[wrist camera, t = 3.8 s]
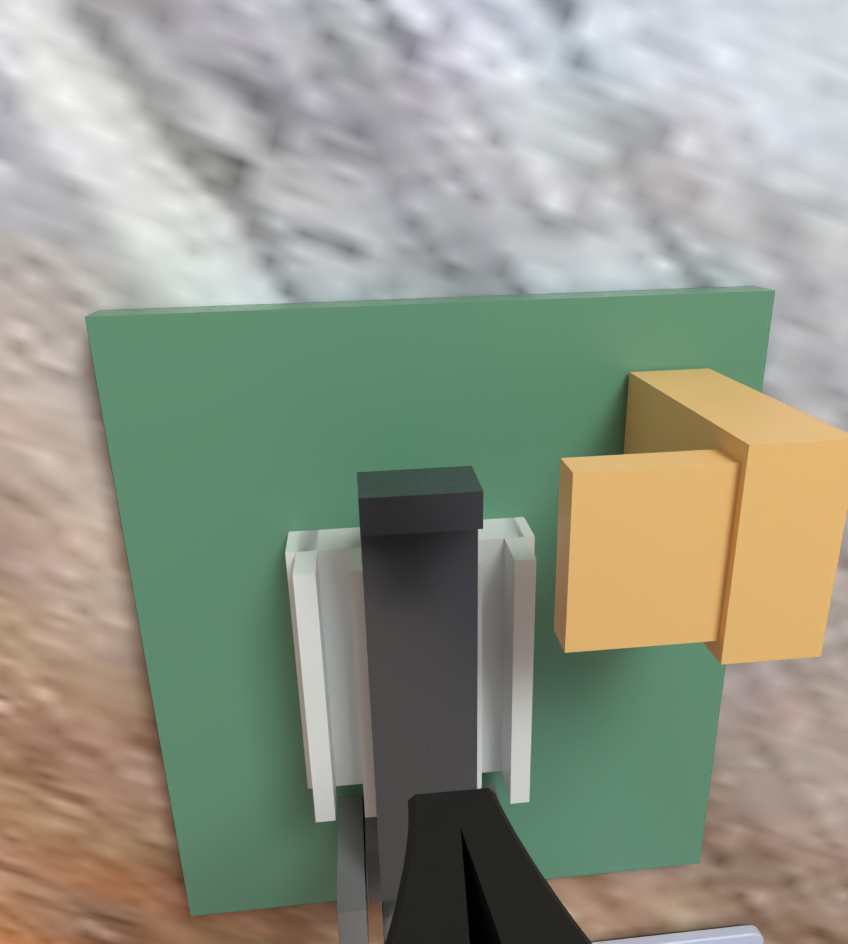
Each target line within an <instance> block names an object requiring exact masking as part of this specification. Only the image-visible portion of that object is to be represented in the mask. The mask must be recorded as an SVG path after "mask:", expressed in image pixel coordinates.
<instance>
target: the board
mask: <svg viewBox="0 0 848 944" xmlns="http://www.w3.org/2000/svg"><path fill="white" fill-rule="evenodd" d="M774 295H775V290H770V289H766V288H761V287H756V286H740V287H713V288H686V289H659V290H633V291H606V292H579V293H552V294H526V295H499V296H472V297H445V298H419V299H392V300H365V301H338V302H312V303H285V304H258V305H231V306H205V307H178V308H151V309H124V310H99V311H96V312H94V313H92V314H90V315H88V316H86V317H85V319H86V325H87V331H88V336H89V342H90V348H91V353H92V359H93V365H94V370H95V376H96V382H97V387H98V393H99V399H100V404H101V410H102V416H103V421H104V427H105V433H106V438H107V444H108V450H109V455H110V461H111V467H112V472H113V478H114V484H115V490H116V495H117V501H118V507H119V512H120V518H121V524H122V529H123V535H124V541H125V546H126V552H127V558H128V563H129V569H130V575H131V580H132V586H133V592H134V597H135V603H136V609H137V614H138V620H139V626H140V631H141V637H142V643H143V648H144V654H145V660H146V666H147V671H148V677H149V683H150V688H151V694H152V700H153V705H154V711H155V717H156V722H157V728H158V734H159V739H160V745H161V751H162V756H163V762H164V768H165V773H166V779H167V785H168V790H169V796H170V802H171V807H172V813H173V819H174V825H175V830H176V836H177V842H178V847H179V853H180V859H181V864H182V870H183V876H184V881H185V887H186V893H187V898H188V904H189V910H190V915H191V916H199V915H208V914H218V913H227V912H237V911H247V910H256V909H266V908H275V907H285V906H295V905H304V904H314V903H323V902H333V901H337V919H338V931H339V943H340V944H369V930H368V900H367V898H369V903H374V902H382V896H381V879H380V862H379V845H378V827H377V810H376V793H375V776H374V759H373V742H372V725H371V708H370V690H369V673H368V656H367V639H366V622H365V605H364V588H363V571H362V553H361V537H360V521H359V504H358V485H357V472H369V471H387V470H405V469H422V468H440V467H458V466H472V467H473V469H474V471H475V474H476V476H477V478H478V480H479V482H480V485H481V487H482V489H483V529H478V678H477V789H481V788H489V789H491V790H492V791H493V792H494V793H495V794H496V796H497V798H498V801H499V803H500V805H501V807H502V808H503V810H504V812H505V814H506V816H507V818H508V820H509V822H510V823H511V825H512V827H513V829H514V830H515V832H516V834H517V836H518V837H519V839H520V841H521V842H522V844H523V845H524V847H525V849H526V850H527V852H528V854H529V855H530V857H531V858H532V860H533V862H534V863H535V865H536V866H537V868H538V869H539V871H540V872H541V874H542V875H543V877H544V878H545V879H553V878H563V877H573V876H582V875H592V874H601V873H611V872H620V871H630V870H640V869H649V868H659V867H668V866H678V865H688V864H697V863H700V856H701V848H702V841H703V833H704V826H705V818H706V810H707V803H708V795H709V788H710V780H711V773H712V765H713V757H714V750H715V742H716V735H717V727H718V719H719V712H720V704H721V697H722V689H723V681H724V674H725V666H726V664H722V665H721V664H720V663H719V662H718V660H717V659H716V658H715V657H714V655H713V654H712V653H711V652H710V650H709V649H708V648H707V647H706V645H705V644H704V643H703V642H696V643H684V644H671V645H658V646H645V647H633V648H620V649H607V650H594V651H582V652H569V653H565V652H564V650H563V648H562V646H561V644H560V642H559V640H558V638H557V636H556V634H555V632H554V612H555V587H556V562H557V537H558V512H559V486H560V461H561V458H570V457H588V456H605V455H623V454H624V441H625V427H626V413H627V398H628V384H629V372H640V371H662V370H683V369H705V368H709V369H711V370H713V371H716V372H718V373H720V374H722V375H724V376H726V377H729V378H731V379H733V380H735V381H737V382H739V383H741V384H744V385H746V386H748V387H750V388H752V389H754V390H756V391H759V392H761V393H762V386H763V378H764V370H765V363H766V355H767V348H768V340H769V332H770V325H771V317H772V310H773V302H774Z"/></svg>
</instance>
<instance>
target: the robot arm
mask: <svg viewBox="0 0 848 944" xmlns="http://www.w3.org/2000/svg"><path fill="white" fill-rule="evenodd" d="M385 944H763V937H762V935H761V933H760V932H759V930H758V929H757V927H755V926H752V925H743V926H734V927H725V928H716V929H707V930H698V931H689V932H680V933H671V934H662V935H654V936H645V937H636V938H627V939H618V940H609V941H600V942H591V941H590V940H589V939H588V937H587V936H586V935H585V934H584V932H583V931H582V930H581V928H580V927H579V926H578V924H577V923H576V922H575V921H574V919H573V918H572V916H571V915H570V914H569V912H568V911H567V910H566V908H565V907H564V906H563V904H562V903H561V901H560V900H559V898H558V897H557V896H556V894H555V893H554V891H553V890H552V888H551V887H550V885H549V884H548V882H547V881H546V880H545V878H544V877H543V875H542V874H541V872H540V871H539V869H538V868H537V866H536V865H535V863H534V862H533V860H532V858H531V857H530V855H529V854H528V852H527V850H526V849H525V847H524V845H523V844H522V842H521V841H520V839H519V837H518V836H517V834H516V832H515V830H514V829H513V827H512V825H511V823H510V822H509V820H508V818H507V816H506V814H505V812H504V810H503V808H502V807H501V805H500V803H499V801H498V798H497V796H496V794H495V793H494V792H493V791H492V790H491V789H489V788H481V789H470V790H459V791H448V792H437V793H426V794H416V795H414V796H412V797H411V798H410V799H409V800H408V836H407V845H406V852H405V859H404V865H403V871H402V876H401V880H400V885H399V890H398V895H397V900H396V904H395V909H394V913H393V917H392V921H391V924H390V928H389V932H388V935H387V939H386V942H385Z"/></svg>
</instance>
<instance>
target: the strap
mask: <svg viewBox="0 0 848 944" xmlns="http://www.w3.org/2000/svg"><path fill="white" fill-rule="evenodd" d="M357 485H358V504H359V521H360V537H361V553H362V571H363V588H364V605H365V622H366V639H367V656H368V673H369V690H370V708H371V725H372V742H373V759H374V776H375V793H376V810H377V827H378V845H379V862H380V879H381V896H382V913H383V931H384V944H385V942H386V939H387V935H388V932H389V928H390V924H391V921H392V917H393V913H394V909H395V904H396V900H397V895H398V890H399V885H400V880H401V876H402V871H403V865H404V859H405V852H406V845H407V836H408V800H409V799H410V798H411V797H412V796H414V795H416V794H426V793H437V792H448V791H459V790H470V789H477V678H478V529H483V489H482V487H481V485H480V482H479V480H478V478H477V476H476V474H475V471H474V469H473V467H472V466H458V467H440V468H422V469H405V470H387V471H369V472H357Z"/></svg>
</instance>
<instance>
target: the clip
mask: <svg viewBox="0 0 848 944" xmlns="http://www.w3.org/2000/svg"><path fill="white" fill-rule="evenodd" d="M847 509H848V433H847V432H845V431H842V430H840V429H838V428H836V427H834V426H832V425H829V424H827V423H825V422H823V421H821V420H819V419H817V418H814V417H812V416H810V415H808V414H806V413H804V412H802V411H799V410H797V409H795V408H793V407H791V406H789V405H787V404H784V403H782V402H780V401H778V400H776V399H774V398H771V397H769V396H767V395H765V394H763V393H761V392H759V391H756V390H754V389H752V388H750V387H748V386H746V385H744V384H741V383H739V382H737V381H735V380H733V379H731V378H729V377H726V376H724V375H722V374H720V373H718V372H716V371H713V370H711V369H709V368H705V369H683V370H662V371H640V372H629V384H628V398H627V413H626V427H625V441H624V454H623V455H605V456H588V457H570V458H561V461H560V486H559V512H558V537H557V562H556V587H555V612H554V632H555V634H556V636H557V638H558V640H559V642H560V644H561V646H562V648H563V650H564V652H565V653H569V652H582V651H594V650H607V649H620V648H633V647H645V646H658V645H671V644H684V643H696V642H703V643H704V644H705V645H706V647H707V648H708V649H709V650H710V652H711V653H712V654H713V655H714V657H715V658H716V659H717V660H718V662H719V663H720V664H721V665H722V664H735V663H747V662H759V661H771V660H784V659H796V658H808V657H821V652H822V646H823V641H824V635H825V630H826V624H827V619H828V613H829V608H830V602H831V597H832V591H833V586H834V580H835V575H836V569H837V564H838V558H839V553H840V547H841V542H842V536H843V531H844V525H845V520H846V514H847Z"/></svg>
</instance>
